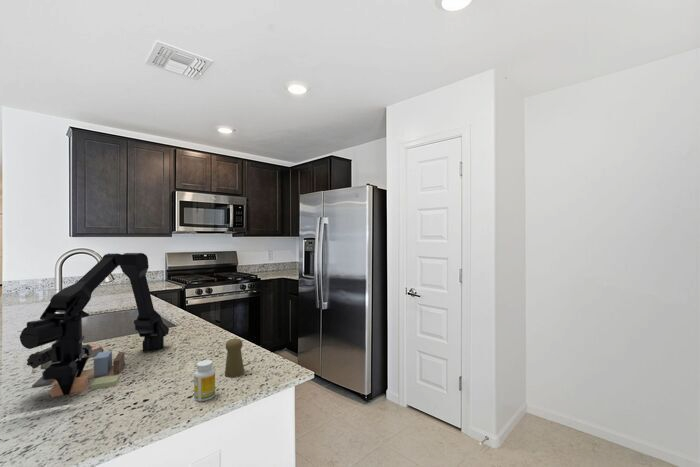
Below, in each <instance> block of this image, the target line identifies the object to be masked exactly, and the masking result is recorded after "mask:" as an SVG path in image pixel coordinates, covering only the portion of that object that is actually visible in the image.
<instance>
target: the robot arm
mask: <svg viewBox="0 0 700 467" xmlns="http://www.w3.org/2000/svg"><path fill="white" fill-rule="evenodd" d="M118 267H120V269H121V271H122V273H123V274H124V275H126V276H127V278H128V279H129V283H130V285H131V290H132V293H133V297H134V301H135V304H136V309H137V313H138V315H137V317H136V319H134V320H133V325H134V331H136V332H137V333H138V334H139V337H140V338H143V340H142V352H155V351H156V352H157V351H160V350H163V349H164V348H165V337H167V335H169V332H170V328H169V327H168V326H167V325H166V324H165V323H164V321H163V318H162V316H161V314H160V313H159V312H157V311H156V310H155V308H154V304H153V299H152V296H151V292H150V291H151V290H150V288H149V283H148V280H147V275H146V274H147V272H148V271H149V268H150V267H149V258H148V255H147V254H145V253H143V252H126V253H123V254H122V253H121V254H120V253H106V254H104V255H103V256H102V257H101V259H100V260H99V261H98V262H97V263H96V264H95V265H94V266H93V267H91V269H90V270H88V272H86V273H84V274H83V276H82V277H80V279H78V281H76V282H75V283H73V284H71V285H68V286H66V287H63V288H62V289H61V290H59V291H58V292H57V293H55V294H54V295H52V296H51V298H50V300H49V304H48V305H47V306H46V308H45V310H44V311H43V312H42V313H41V316H40V317H39V319H37V320H31V321H27V322H26V327H25V328H23V329H22V331H21V333H20V335H19V340H20V344H21V345H22V346H23V347H24V348H26V349H27V350H31V349H35V348H39V347H41V346H44V345H47V344H50V343H52V344H51V346H49V347H48V348H45V349H42V350H40V351H36V352H35V353H31V354H30V355H28V358H27V359H26V361H27V362H26V365H27V366H29V367H31V369H34V368H37V367H40V366H41V365H42V364H45V363H47V362H49V361H51V363H54V364H51V365H50V366H49V367H48V368H47V369H44V370H43V371H42V374H41V377H42V380H48V379H55V380H57V382H58V384H59V386H60V388H61V390H62V393H63V395H62V396H67V395H70V394H69V393H70V391H71V388H72V386H73V383H74V381H75V378H77V377H80V376H81V373H82V371H83V370H85V367H86V365H87V362H88V360H89V359H90V358H89V357H83V354H87V356H89V355H90V354H91V353H92V347H91V346H90V345H89V344H83V341H84V340H85V335H83V318H87V317H89V316H90V313H87V312H86V311H85V310H84V309H85V308H86V306H87V305H88V304H89V302H90V301H91V299H92V294H93V292H94V291H95V290H96V289H97V288H98V287H99V286H100V285H101V284H102V283H103V282H104V281H105V280H106V279H107V278H108V277H109V276H110V275H111V274H112V273H113V272H114V271H115V270H116V269H117V268H118ZM53 342H54V343H53ZM55 362H60V363H55Z"/></svg>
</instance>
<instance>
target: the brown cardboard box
mask: <svg viewBox="0 0 700 467" xmlns="http://www.w3.org/2000/svg"><path fill="white" fill-rule="evenodd" d="M88 384H89V379H88V376H82V377H77V378H75V381H74V383H73V386H72V388H71V391H70V393H69V395H70V394H74V393H80V392H84V391H85V390H86V387H87V386H88ZM50 394H51V398H54V397H59V396H64V395H63V393H62V390H61V388H60V386H59V384H58V382H56V383H55V385H52V387H51V389H50Z"/></svg>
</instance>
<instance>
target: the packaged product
mask: <svg viewBox="0 0 700 467" xmlns="http://www.w3.org/2000/svg"><path fill="white" fill-rule="evenodd" d="M88 345H90V346H91V347H92V353H91V354H90V355H89V356H87V354H83V357H89V359H90V358H93V357H96V356H97V354H98V353H99V352H105V350H104V348H103V347H102V346H101V344H96V343H90V344H88ZM50 364H51V361H49V362H47V363H45V364H42V365H40V366H38V367H37V368H34V369H33V368H31V372H32V373H33V374H35V373H37V372H38V371H39V370H40V369H43V370H46V367H48V366H49V365H50Z"/></svg>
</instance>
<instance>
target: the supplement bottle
mask: <svg viewBox="0 0 700 467" xmlns="http://www.w3.org/2000/svg"><path fill="white" fill-rule="evenodd" d="M213 366H214V364H213V360H211V359H203V360H200V361H198V362H197V363H196V369H197V370H196V371H195V372H194V373H193V390H194V391H193V394H194V396H193V398H194V400H195V401H197V402H205V401H209V400H211V399H213V398H214V397H215V396H216V369H215V368H214V367H213Z"/></svg>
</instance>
